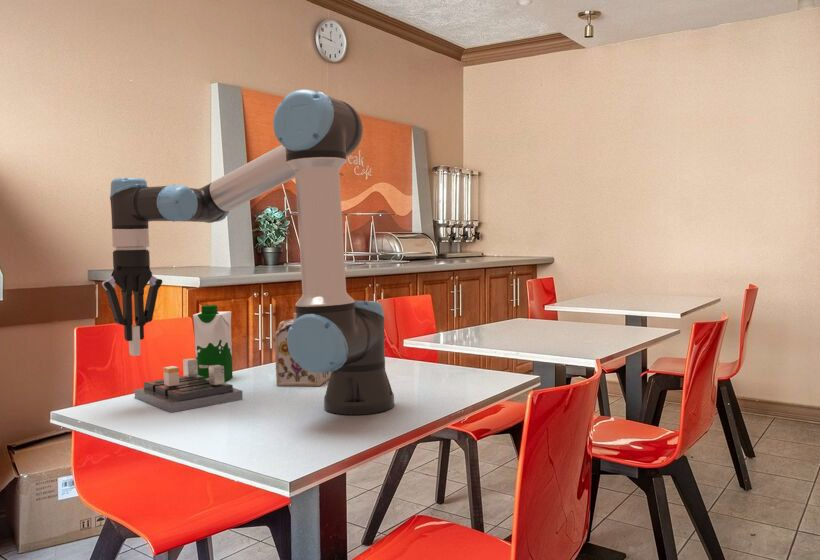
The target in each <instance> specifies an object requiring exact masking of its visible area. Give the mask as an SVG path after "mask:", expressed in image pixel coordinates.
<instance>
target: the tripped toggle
mask: <svg viewBox="0 0 820 560" xmlns="http://www.w3.org/2000/svg"><path fill="white" fill-rule="evenodd" d="M162 369H163V371H162V372H163V379H164V385H167V386H173V385H179V377H180V373H179V372H180V367H178V366H175V365H171V366H170V365H169V366H164V367H163V368H162Z"/></svg>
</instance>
